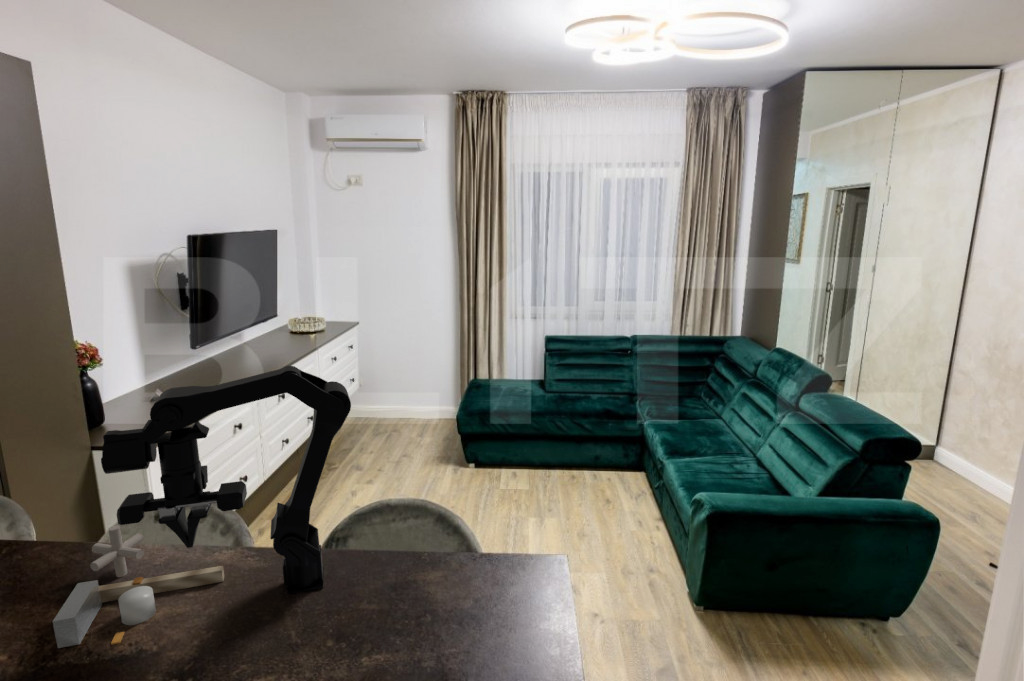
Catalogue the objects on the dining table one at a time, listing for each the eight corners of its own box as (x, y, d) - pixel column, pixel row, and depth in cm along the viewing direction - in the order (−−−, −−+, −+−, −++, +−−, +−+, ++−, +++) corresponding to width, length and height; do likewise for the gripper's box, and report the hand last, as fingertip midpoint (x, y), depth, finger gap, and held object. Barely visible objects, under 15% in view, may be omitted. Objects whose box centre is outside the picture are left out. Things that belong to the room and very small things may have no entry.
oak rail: (224, 576, 110) (222, 563, 109) (222, 581, 108) (221, 568, 108) (90, 599, 103) (88, 585, 103) (87, 605, 102) (84, 591, 101)
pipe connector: (121, 594, 105) (113, 545, 102) (76, 587, 106) (67, 539, 104) (164, 562, 114) (157, 517, 112) (122, 556, 116) (114, 511, 114)
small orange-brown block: (124, 633, 95) (124, 631, 95) (119, 643, 93) (119, 641, 93) (116, 634, 95) (115, 633, 95) (111, 644, 92) (110, 643, 92)
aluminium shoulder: (102, 604, 102) (97, 580, 101) (79, 644, 92) (74, 617, 91) (82, 608, 101) (77, 583, 100) (57, 648, 92) (52, 621, 90)
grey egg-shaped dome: (159, 603, 102) (156, 583, 101) (151, 621, 98) (148, 601, 97) (127, 608, 101) (123, 589, 100) (117, 628, 96) (114, 607, 95)
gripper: (246, 439, 106) (253, 515, 110) (131, 451, 101) (142, 530, 104) (238, 464, 96) (246, 547, 99) (109, 478, 90) (123, 566, 94)
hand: (190, 546), depth 100 cm, fingers closed
